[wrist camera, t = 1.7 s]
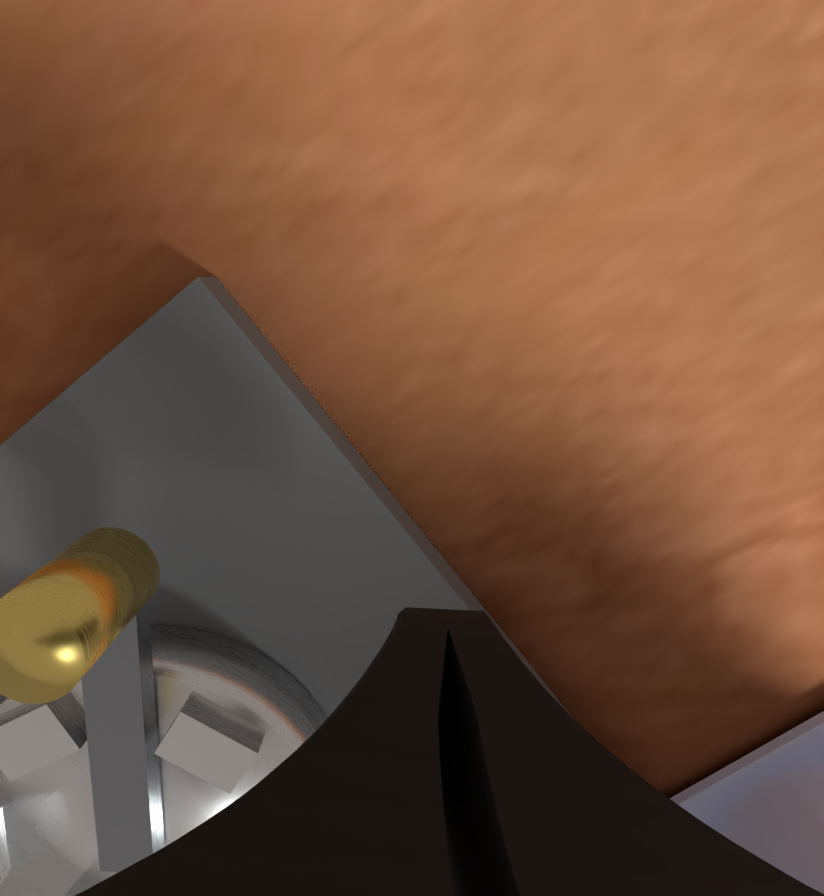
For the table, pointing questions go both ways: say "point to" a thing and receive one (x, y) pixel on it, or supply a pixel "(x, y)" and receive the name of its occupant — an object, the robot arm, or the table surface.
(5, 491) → the base plate
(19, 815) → the lathe jaw chuck
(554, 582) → the table surface
